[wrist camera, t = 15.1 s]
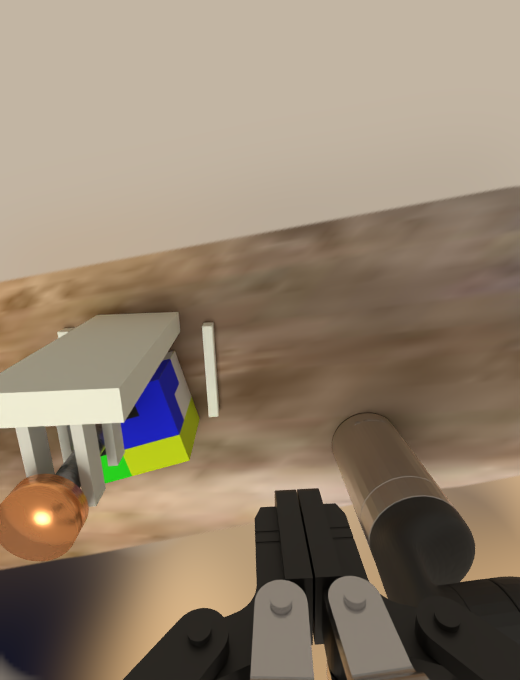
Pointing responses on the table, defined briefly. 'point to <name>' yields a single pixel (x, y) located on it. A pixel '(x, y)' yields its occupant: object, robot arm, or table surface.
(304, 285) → the table surface
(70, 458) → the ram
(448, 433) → the table surface
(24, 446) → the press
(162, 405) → the puzzle toy
